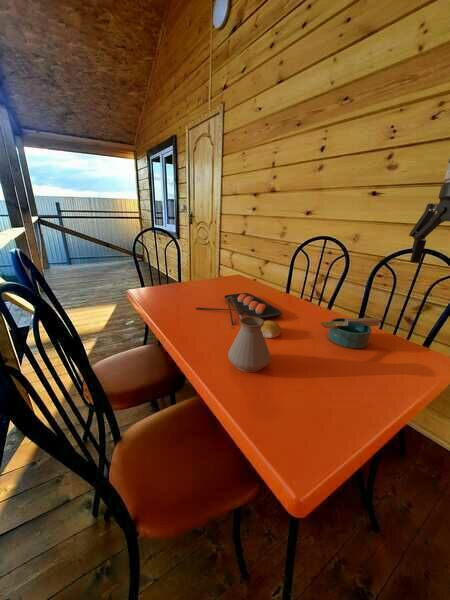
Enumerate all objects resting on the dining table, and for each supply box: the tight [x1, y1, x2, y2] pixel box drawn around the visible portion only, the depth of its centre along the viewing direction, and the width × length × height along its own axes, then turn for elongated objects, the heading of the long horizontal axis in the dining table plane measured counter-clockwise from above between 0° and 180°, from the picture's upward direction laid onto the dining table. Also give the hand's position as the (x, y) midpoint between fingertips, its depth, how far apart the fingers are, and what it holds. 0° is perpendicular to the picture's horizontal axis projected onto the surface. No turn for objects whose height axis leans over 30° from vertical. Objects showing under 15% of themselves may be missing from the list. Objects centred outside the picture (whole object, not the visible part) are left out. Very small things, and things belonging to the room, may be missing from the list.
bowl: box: [327, 317, 372, 350], centre depth 84 cm, size 12×12×6 cm
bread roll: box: [261, 320, 282, 339], centre depth 87 cm, size 8×9×4 cm
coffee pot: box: [226, 296, 271, 373], centre depth 71 cm, size 21×12×15 cm, turn 20°
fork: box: [320, 317, 381, 329], centre depth 82 cm, size 19×3×2 cm, turn 97°
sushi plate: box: [195, 292, 283, 326], centre depth 106 cm, size 29×30×4 cm
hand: (435, 267), depth 69 cm, fingers open, 13 cm apart
